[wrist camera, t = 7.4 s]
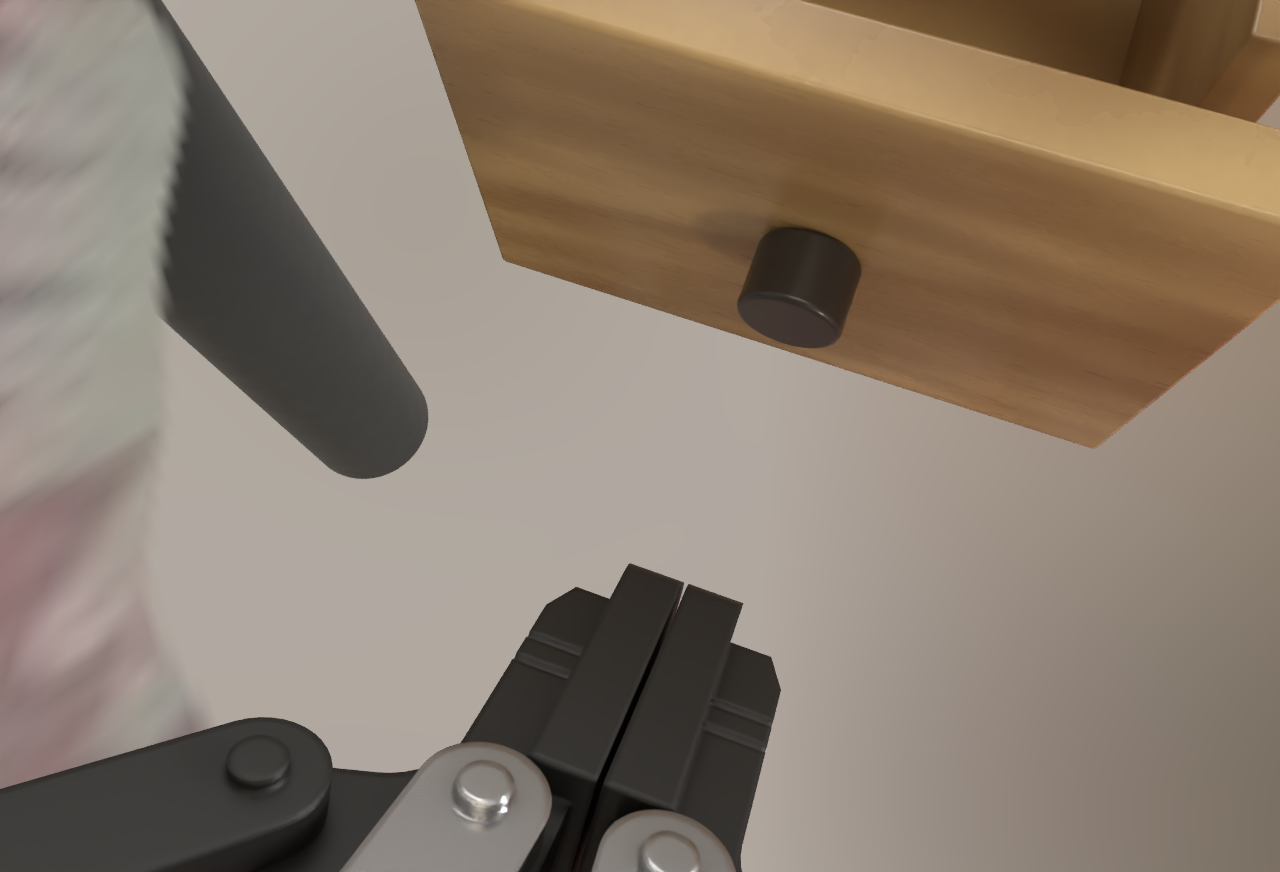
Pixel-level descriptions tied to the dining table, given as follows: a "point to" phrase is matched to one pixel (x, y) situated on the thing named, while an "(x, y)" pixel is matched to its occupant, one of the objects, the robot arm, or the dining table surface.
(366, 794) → the robot arm
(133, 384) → the dining table surface
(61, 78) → the dining table surface
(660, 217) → the wooden drawer with knob
